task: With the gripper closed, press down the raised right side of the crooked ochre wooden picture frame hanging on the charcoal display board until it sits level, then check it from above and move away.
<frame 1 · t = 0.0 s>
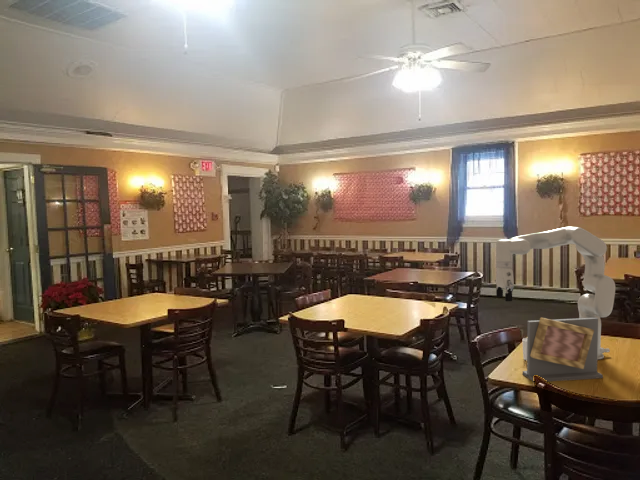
hand: (504, 299, 243), 31 cm above the table, tool pointing down, fingers open, 9 cm apart
display board: (562, 376, 223), on the table
white cup: (530, 359, 247), on the table
picture frame: (561, 343, 218), point 16 cm above the table, hinge at -15.0°
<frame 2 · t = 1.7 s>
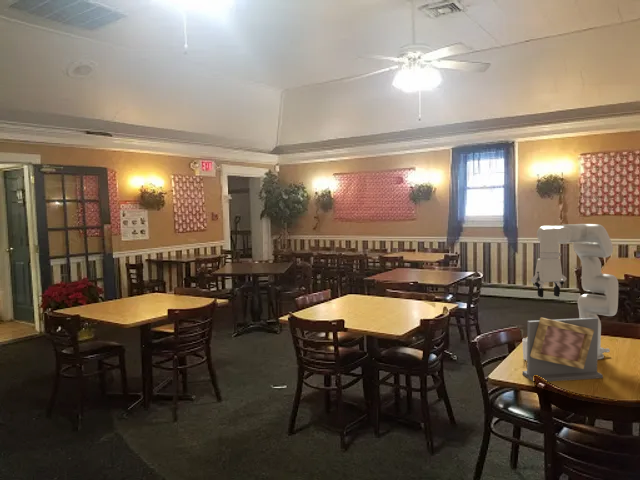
hand: (548, 296, 216), 38 cm above the table, tool pointing down, fingers open, 6 cm apart
nothing on the table moved.
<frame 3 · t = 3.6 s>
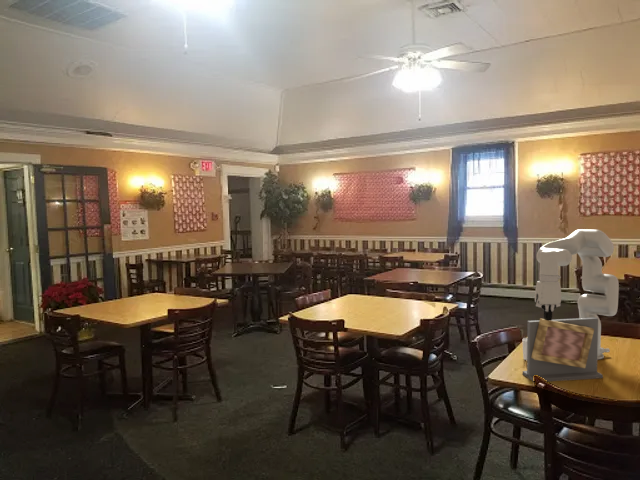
hand: (547, 319, 217), 27 cm above the table, tool pointing down, fingers closed
picture frame: (562, 343, 219), point 16 cm above the table, hinge at -12.6°, touching gripper
everything else where it was.
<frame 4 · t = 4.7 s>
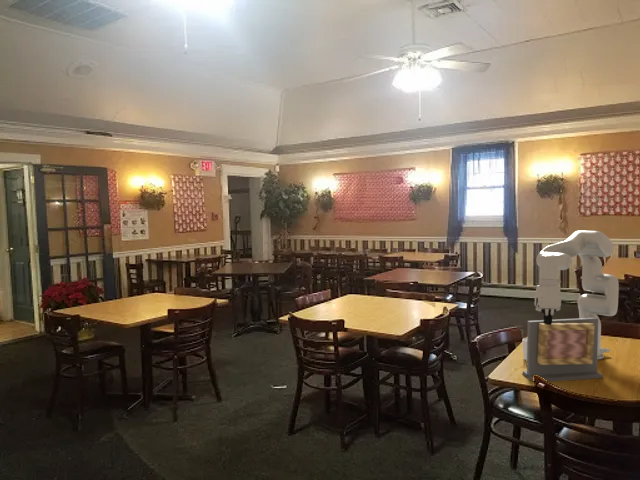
hand: (547, 323, 217), 25 cm above the table, tool pointing down, fingers closed
picture frame: (565, 343, 219), point 16 cm above the table, hinge at -2.2°, touching gripper
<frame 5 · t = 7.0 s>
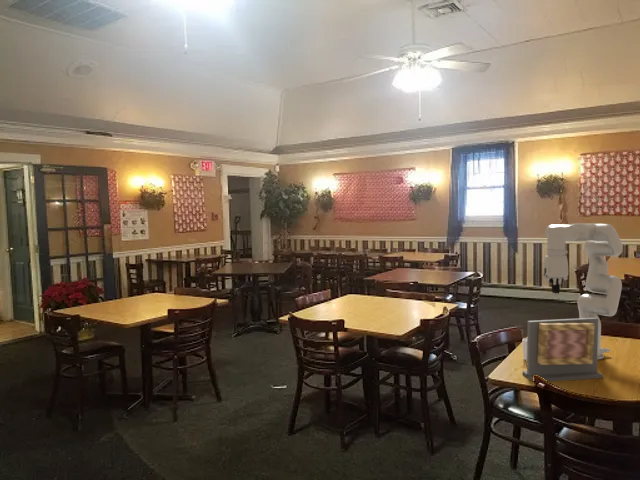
hand: (555, 292, 226), 37 cm above the table, tool pointing down, fingers closed
picture frame: (565, 343, 219), point 16 cm above the table, hinge at -2.1°
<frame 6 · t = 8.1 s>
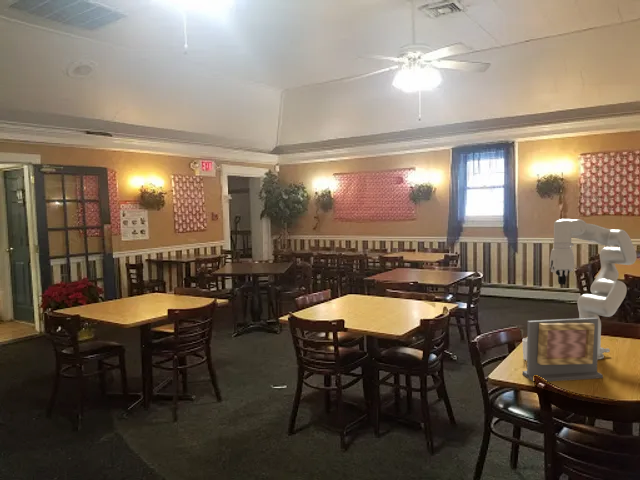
hand: (561, 284, 236), 39 cm above the table, tool pointing down, fingers closed
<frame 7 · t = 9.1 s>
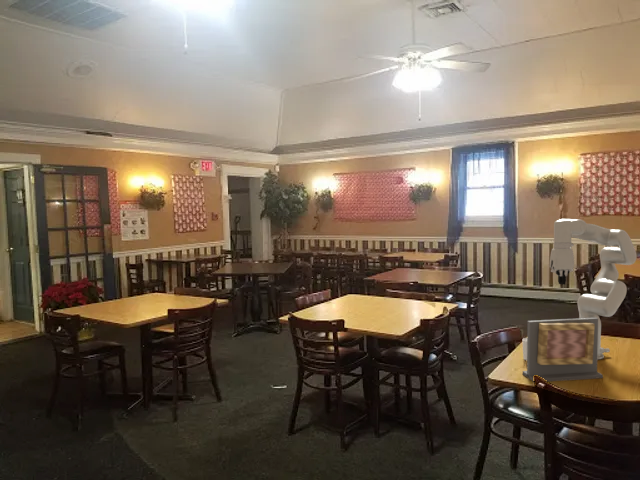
hand: (561, 284, 236), 39 cm above the table, tool pointing down, fingers closed
at the end: picture frame at -2° (first picture: -15°) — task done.
